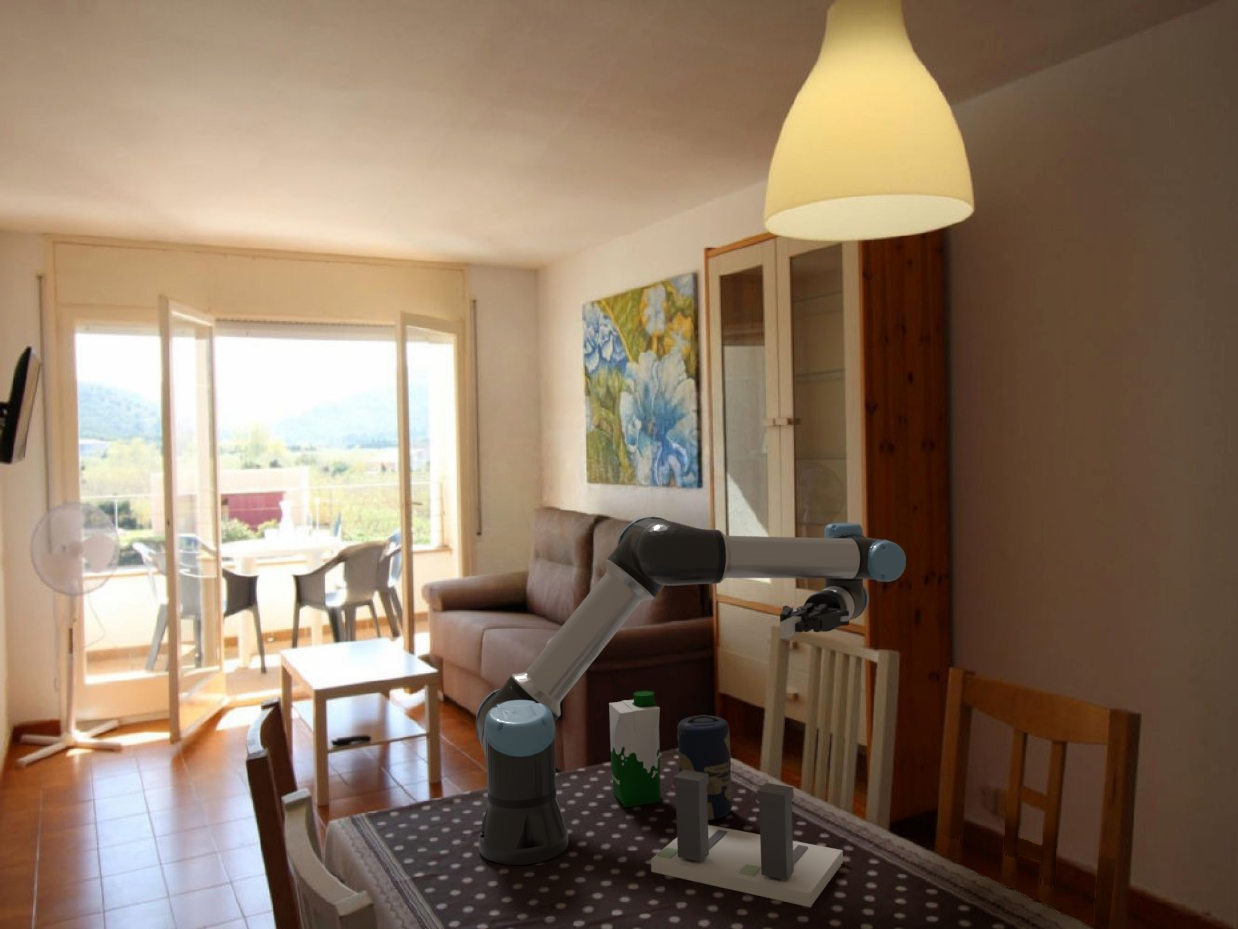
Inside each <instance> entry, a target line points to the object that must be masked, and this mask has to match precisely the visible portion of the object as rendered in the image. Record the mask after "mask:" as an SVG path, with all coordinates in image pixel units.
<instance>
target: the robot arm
mask: <svg viewBox="0 0 1238 929" xmlns="http://www.w3.org/2000/svg"><path fill="white" fill-rule="evenodd" d="M863 532H864V531H863V526H862V525H861V524H859V523H854V522H836V523H835V522H834V523H828V524H826V526H825V527H824V537H805V536H804V537H798V536H797V537H795V536H794V537H793V536H757V535H756V536H754V535H753V536H752V535H748V536H746V535H725V533H724V532H723V531H722V530H720V529H705V528H699V527H693V526H689V525H686V524H682V523H680V522H677V521H676V522H675V521H671V520H667V519H665V518H662V517H657V516H647V517H641V518H638V519H635V520H633V521H632V522H630V523H629V524H627V526H625V528H624V529H623V530H622V532H621V533H620V534H619V535H620V536H619V538H618V539H617V540H618V541H617V545H616V547H615V549H614V550H613V551H612V552H611V554H609V556H608V557H607V559H606V560H605V565H606V569H605V570H606V571H605V574H604V575H603V576H602V577H601V579H599V581H598V582H597V583H596V584H595V586H594V587H593V588H592V589H591V591H590V592H589V593H588V594H587V595H586V597H585V598H584V599H583V600H582V602H581V603H580V604H579V605H578V607H577V608H576V609H575V610H574V612H572V614H571V615H570V617H569V618H567V620H566V621H565V622H564V623H563V625H562V626H561V627H560V629H559V630H558V631H557V632H556V634H555V635H554V636H552V638H551V639H550V640H549V642H548V643H547V644H546V645H545V647H544V648H543V649H542V651H540V653H539V654H538V655H537V656H536V658H534V660H533V661H532V663H531V664H530V665H529V667H527V669H526V670H525V671H524V672H520V673H513V674H511V676H509V677H508V679H507V681H505V682H504V683H503V685H502V686H501V687H500V688H499V689H496V690H493V691H492V692H491V693H489V694H488V695H487V696H486V697H485V698H484V699H483V701H482V702H481V703H480V704H479V707H478V708H477V712H476V718H475V731H476V732H475V734H476V737H477V740H478V742H479V743H480V745H481V748H482V751H483V753H484V757H485V761H486V788H487V806H486V809H485V813H484V816H483V821H482V824H481V827H480V831H479V834H478V851H479V854H480V853H481V854H480V855H481V857H483V858H484V859H486V860H487V861H490V862H492V861H494V862H493V863H495V862H496V863H495V864H500V863H501V865H507V866H509V865H510V866H517V865H518V866H521V865H522V866H523V865H533V864H538V863H543V862H546V861H548V860H551V859H553V858H556V857H558V856H560V855H561V854H563V853H564V852H565V851H566V849H567V848H568V847H569V829H568V825H567V824H566V823H565V819H564V816H563V812H562V810H561V806H560V804H559V801H558V798H557V796H558V795H557V775H556V772H557V771H556V770H557V769H556V749H555V748H556V746H555V745H556V744H555V736H556V724H555V722H556V721H557V720H558V719H559V717H560V716H561V702H562V700H563V699H564V698H565V697H566V696H567V694H568V693H569V692H570V690H571V689H572V688H573V687H574V686H575V685H576V683H577V682H578V681H579V679H580V678H581V677H582V676H583V674H584V673H585V672H586V671H587V670H588V668H589V667H590V666H591V665H592V663H593V662H594V661H595V660H596V658H597V657H598V656H599V655H600V654H601V652H602V651H603V650H604V648H606V646H607V645H608V644H609V643H610V641H611V640H612V639H613V637H614V636H615V635H616V633H617V632H618V631H619V630H620V629H621V627H623V625H624V624H625V623H626V621H627V620H628V619H629V618H630V617H631V615H632V614H633V612H634V611H635V610H637V607H638V606H639V605H640V604H641V603H642V602H645V601H652V600H654V599H655V598H656V597H657V596H658V594H659V593H660V592H661V591H662V590H663V588H664V587H665V586H667V587H669V586H687V585H704V584H705V585H707V584H709V585H711V584H712V585H713V584H714V585H715V584H721V583H722V582H723V581H724V580H725V579H726V578H727V579H824V588H823V589H822V590H819V591H816V592H815V593H812V594H811V595H810V596H808V597H807V599H806V600H805V602H804V604H803V605H801V606H797V607H796V609H794V607H792V606H789V605H783V606H782V611H781V612H780V614H779V638H780V639H783V640H785V639H787V640H789V639H792V637H795V636H797V635H799V634H801V633H803V632H805V633H809V632H811V631H813V632H814V633H820V632H825V633H826V632H827V633H828V632H831V631H833V630H836V629H837V628H839V627H843V626H846V627H847V626H850V621H852V620H855V619H856V618H858V617H859V616H861V615H862V614H863V613H864V612H865V611H866V609H868V605H869V603H870V596H869V592H868V589H867V588H866V587H865V585H864V580H875V581H877V582H886V583H888V582H893V581H896V580H897V579H899V578H900V577H901V576H902V574H903V573H904V571H905V570H906V566H907V564H906V562H907V561H906V560H907V558H906V554H905V551H904V550H903V549H902V547H901V546H900V545H898V544H897V543H896V542H893V541H889V540H888V539H879V538H874V537H873V538H872V537H867V536H864V533H863Z"/></svg>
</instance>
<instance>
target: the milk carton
mask: <svg viewBox="0 0 1238 929" xmlns="http://www.w3.org/2000/svg"><path fill="white" fill-rule="evenodd" d="M655 699H656V698H655V692H654V691H652V690H637V691H634V692H633V699H629V700H628V699H627V700H625V699H624V700H621V701H617V702H609V703H608V705H609V709H608V710H609V734H610V735H609V736H610V737H609V739H610V761H611V763H610V764H611V767H610V768H611V778H612V787H613V794H614V796H615V798H616V799H617V800H618V799H619V800H618V801H619V802H620V803H621V804H622V806H623V807H625V808H631V807H635V806H636V807H637V806H642V805H643V804H644V805H649V804H657V803H661V800H662V798H661V792H662V791H661V789H662V788H661V758H660V757H661V753H660V752H661V751H660V750H661V748H660V711H661V708H660V707H659V706H658V705H657V703H656V702H655V701H656V700H655ZM644 805H643V806H644Z"/></svg>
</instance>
